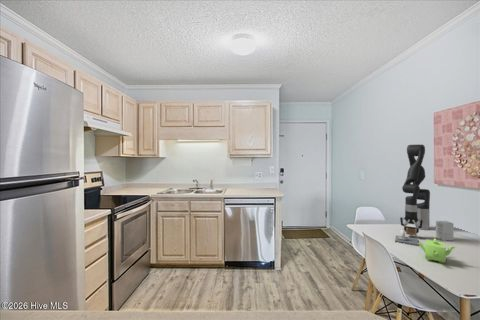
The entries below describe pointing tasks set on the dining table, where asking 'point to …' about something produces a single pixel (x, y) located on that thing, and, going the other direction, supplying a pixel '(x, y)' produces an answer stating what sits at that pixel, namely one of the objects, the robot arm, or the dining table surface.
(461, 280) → the dining table surface
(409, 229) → the wooden square frame
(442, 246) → the kettle
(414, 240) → the post stand
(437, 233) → the supplement box
